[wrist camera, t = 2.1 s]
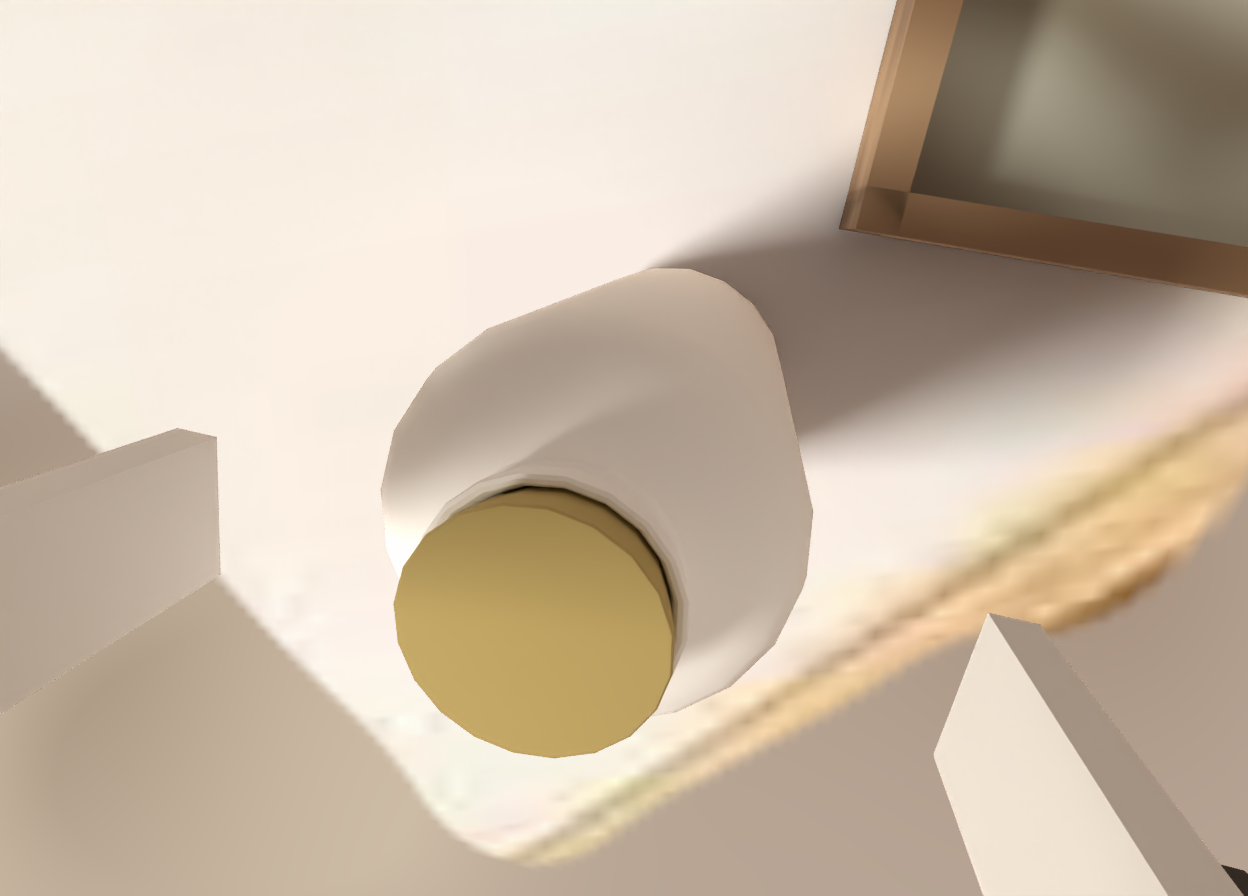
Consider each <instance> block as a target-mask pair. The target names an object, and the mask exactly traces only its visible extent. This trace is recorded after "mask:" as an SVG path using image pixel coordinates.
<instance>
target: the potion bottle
mask: <svg viewBox="0 0 1248 896" xmlns="http://www.w3.org/2000/svg"><path fill="white" fill-rule="evenodd" d="M381 497H382V506H383V516H384V525H385V535H386V544H387V551H388V553H389V555H390V558H391V560H392V563H393V565H394V567H395V570H396V572H397V574H398V577H399V579H400V580H399V584H398V588H397V592H396V596H395V600H394V611H395V620H396V630H397V639H398V644H399V646H400V648H401V650H402V653H403V655H404V657H405V660H406V662H407V664H408V666H409V669H410V671H411V673H412V676H413V678H414V680H415V681H416V682H417V683H418V685H419V686H420V687H421V688H422V690H423V691H424V692H425V693H426V695H427V696H428V697H429V698H430V699H431V701H432V702H433V703H434V704H435V706H436V707H437V708H438V709H439V710H440V712H442V713H443V714H444V715H446V716H447V717H449V718H450V719H451V720H453V721H454V722H455V723H457V724H458V725H459V726H461V727H462V728H463V729H465V730H466V731H468V732H469V733H470V734H472V735H473V736H474V737H477V738H479V739H482V740H484V741H487V742H489V743H491V744H494V745H496V746H499V747H501V748H504V749H506V750H508V751H511V752H514V753H521V754H528V755H535V756H542V757H549V758H560V757H567V756H575V755H583V754H590V753H596V752H598V751H600V750H602V749H604V748H606V747H609V746H611V745H613V744H615V743H617V742H619V741H621V740H624V739H626V738H628V737H630V736H631V735H632V734H633V733H634V732H635V731H636V730H637V729H638V728H639V727H640V726H641V725H642V724H643V723H644V722H645V721H646V720H647V719H648V718H649V717H650V716H655V715H662V714H668V713H674V712H677V711H679V710H682V709H684V708H686V707H688V706H690V705H692V704H694V703H697V702H699V701H701V700H703V699H705V698H707V697H709V696H711V695H714V694H716V693H718V692H720V691H722V690H724V689H726V688H729V687H731V686H732V685H733V684H734V683H735V682H736V681H737V680H738V679H739V678H740V677H741V676H742V675H743V674H744V673H745V672H746V671H748V670H749V669H750V668H751V667H752V666H753V665H754V664H755V663H756V662H757V661H758V660H759V659H760V658H761V657H762V656H763V655H764V654H765V653H766V652H767V651H769V650H770V649H771V648H772V647H773V646H774V645H775V643H776V641H777V639H778V637H779V635H780V633H781V631H782V629H783V627H784V625H785V623H786V621H787V619H788V617H789V615H790V613H791V611H792V609H793V607H794V605H795V603H796V601H797V599H798V597H799V595H800V593H801V591H802V588H803V585H804V582H805V579H806V575H807V566H808V556H809V547H810V537H811V528H812V518H813V508H812V504H811V499H810V495H809V490H808V486H807V481H806V477H805V472H804V468H803V463H802V459H801V454H800V450H799V445H798V440H797V436H796V431H795V427H794V422H793V418H792V413H791V409H790V404H789V400H788V395H787V391H786V386H785V382H784V377H783V373H782V368H781V364H780V360H779V356H778V352H777V348H776V344H775V340H774V336H773V334H772V332H771V331H770V329H769V328H768V326H767V325H766V323H765V322H764V320H763V319H762V317H761V315H760V314H759V312H758V311H757V309H756V308H755V306H754V305H753V304H752V303H751V302H750V301H748V300H747V299H746V298H745V297H743V296H742V295H741V294H740V293H738V292H737V291H736V290H735V289H733V288H732V287H731V286H730V285H728V284H727V283H726V282H725V281H722V280H719V279H716V278H714V277H711V276H708V275H705V274H703V273H700V272H697V271H694V270H692V269H675V268H652V269H648V270H645V271H642V272H639V273H636V274H632V275H629V276H626V277H623V278H620V279H617V280H614V281H612V282H609V283H606V284H604V285H601V286H599V287H596V288H593V289H591V290H588V291H585V292H583V293H580V294H578V295H575V296H572V297H570V298H567V299H565V300H562V301H559V302H557V303H554V304H551V305H549V306H546V307H544V308H541V309H538V310H536V311H533V312H530V313H528V314H525V315H523V316H520V317H517V318H515V319H512V320H509V321H507V322H504V323H502V324H499V325H496V326H494V327H491V328H488V329H487V330H485V331H484V332H483V333H481V334H480V335H479V336H477V337H476V338H475V339H473V340H472V341H471V342H469V343H468V344H467V345H466V346H464V347H463V348H462V349H460V350H459V351H458V352H456V353H455V354H454V355H452V356H451V357H450V358H448V359H447V360H446V361H444V362H443V363H442V364H440V365H439V366H438V367H436V368H435V370H434V371H433V372H432V373H431V375H430V376H429V377H428V378H427V380H426V381H425V383H424V384H423V386H422V388H421V389H420V391H419V392H418V394H417V395H416V397H415V399H414V400H413V402H412V403H411V405H410V406H409V408H408V410H407V411H406V413H405V414H404V416H403V417H402V419H401V421H400V422H399V424H398V425H397V427H396V428H395V430H394V433H393V437H392V442H391V446H390V451H389V455H388V460H387V464H386V469H385V473H384V478H383V482H382V487H381Z"/></svg>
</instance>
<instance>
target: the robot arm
mask: <svg viewBox="0 0 1248 896" xmlns="http://www.w3.org/2000/svg"><path fill="white" fill-rule="evenodd" d="M219 575H220V543H219V508H218V472H217V437H214V436H209V435H205V434H201V433H196V432H192V431H187V430H183V429H179V428H177V429H174V430H171V431H168V432H165V433H162V434H159V435H156V436H152V437H149V438H146V439H143V440H140V441H137V442H134V443H131V444H128V445H125V446H122V447H119V448H116V449H113V450H110V451H107V452H104V453H101V454H98V455H95V456H92V457H89V458H86V459H83V460H80V461H77V462H74V463H71V464H68V465H65V466H62V467H59V468H56V469H53V470H50V471H47V472H44V473H41V474H38V475H35V476H32V477H29V478H26V479H23V480H20V481H17V482H14V483H11V484H8V485H5V486H2V487H0V714H2V713H3V712H5V711H6V710H8V709H9V708H11V707H12V706H14V705H16V704H17V703H19V702H20V701H22V700H24V699H25V698H27V697H28V696H30V695H31V694H33V693H35V692H36V691H38V690H39V689H41V688H42V687H44V686H45V685H47V684H49V683H50V682H52V681H53V680H55V679H57V678H58V677H60V676H61V675H63V674H65V673H66V672H68V671H69V670H71V669H72V668H74V667H76V666H77V665H79V664H80V663H82V662H84V661H85V660H87V659H88V658H90V657H91V656H93V655H95V654H96V653H98V652H99V651H101V650H102V649H104V648H105V647H107V646H109V645H110V644H112V643H113V642H115V641H117V640H118V639H120V638H121V637H123V636H124V635H126V634H128V633H129V632H131V631H132V630H134V629H135V628H137V627H139V626H140V625H142V624H143V623H145V622H147V621H148V620H150V619H151V618H153V617H154V616H156V615H157V614H159V613H161V612H162V611H164V610H165V609H167V608H168V607H170V606H172V605H173V604H175V603H176V602H178V601H180V600H181V599H183V598H184V597H186V596H187V595H189V594H191V593H192V592H194V591H195V590H197V589H199V588H200V587H201V586H203V585H205V584H206V583H208V582H209V581H211V580H213V579H214V578H216V577H217V576H219ZM933 756H934V758H935V761H936V764H937V767H938V770H939V772H940V775H941V778H942V781H943V784H944V787H945V789H946V792H947V795H948V798H949V801H950V803H951V806H952V809H953V812H954V815H955V818H956V820H957V823H958V826H959V829H960V832H961V834H962V837H963V840H964V843H965V846H966V848H967V851H968V854H969V857H970V860H971V862H972V865H973V868H974V871H975V874H976V876H977V879H978V882H979V885H980V888H981V890H982V894H983V896H1248V874H1247V873H1246V872H1245V871H1243V870H1239V869H1236V868H1232V867H1228V866H1224V865H1220V863H1219V862H1218V861H1217V860H1216V858H1215V857H1214V855H1213V854H1212V853H1211V851H1210V850H1209V849H1208V847H1207V846H1206V845H1205V843H1204V842H1203V841H1202V839H1201V838H1200V837H1199V836H1198V834H1197V833H1196V831H1195V830H1194V829H1193V827H1192V826H1191V825H1190V823H1189V822H1188V821H1187V819H1186V818H1185V817H1184V816H1183V814H1182V813H1181V812H1180V810H1179V809H1178V807H1177V806H1176V805H1175V803H1174V802H1173V801H1172V799H1171V798H1170V797H1169V795H1167V793H1166V791H1165V790H1164V789H1163V787H1162V786H1161V785H1160V784H1159V782H1158V781H1157V780H1156V778H1155V777H1154V776H1153V774H1152V773H1151V772H1150V770H1149V769H1148V768H1147V766H1146V765H1145V764H1144V762H1143V761H1142V760H1141V758H1140V757H1139V756H1138V754H1137V753H1136V752H1135V750H1134V749H1133V748H1132V746H1131V745H1130V744H1129V742H1128V741H1127V740H1126V738H1125V737H1124V736H1123V734H1122V733H1121V732H1120V730H1119V729H1118V728H1117V727H1116V725H1115V724H1114V722H1113V721H1112V720H1111V718H1110V717H1109V716H1108V714H1107V713H1106V712H1105V711H1104V709H1103V708H1102V706H1101V705H1100V704H1099V702H1098V701H1097V700H1096V698H1095V697H1094V696H1093V694H1092V693H1091V692H1090V690H1089V689H1088V688H1087V686H1086V685H1085V684H1084V682H1083V681H1082V680H1081V679H1080V677H1079V676H1078V674H1077V673H1076V672H1075V670H1074V669H1073V668H1072V666H1071V665H1070V664H1069V662H1068V661H1067V660H1066V658H1065V657H1064V656H1063V655H1062V653H1061V652H1060V650H1059V649H1058V648H1057V646H1056V645H1055V644H1054V642H1053V641H1052V640H1051V638H1050V637H1049V636H1048V634H1047V633H1046V632H1045V631H1044V629H1043V628H1042V627H1041V625H1040V624H1035V623H1031V622H1026V621H1022V620H1018V619H1013V618H1009V617H1004V616H1000V615H996V614H991V613H988V614H987V617H986V620H985V622H984V625H983V627H982V630H981V633H980V635H979V638H978V640H977V643H976V646H975V648H974V651H973V653H972V656H971V659H970V661H969V664H968V666H967V669H966V672H965V674H964V677H963V679H962V682H961V685H960V687H959V690H958V692H957V695H956V698H955V700H954V703H953V705H952V708H951V711H950V713H949V716H948V718H947V721H946V724H945V726H944V729H943V731H942V734H941V737H940V739H939V742H938V744H937V747H936V750H935V752H934V755H933Z"/></svg>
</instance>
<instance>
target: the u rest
mask: <svg viewBox="0 0 1248 896" xmlns="http://www.w3.org/2000/svg"><path fill="white" fill-rule="evenodd" d="M839 229H844V230H849V231H855V232H861V233H867V234H873V235H879V236H885V237H891V238H897V239H903V240H909V241H914V242H920V243H926V244H932V245H938V246H944V247H950V248H956V249H962V250H968V251H974V252H980V253H985V254H991V255H997V256H1003V257H1009V258H1015V259H1021V260H1027V261H1033V262H1039V263H1045V264H1050V265H1056V266H1062V267H1068V268H1074V269H1080V270H1086V271H1092V272H1098V273H1104V274H1110V275H1116V276H1121V277H1127V278H1133V279H1139V280H1145V281H1151V282H1157V283H1163V284H1169V285H1175V286H1181V287H1186V288H1192V289H1198V290H1204V291H1210V292H1216V293H1222V294H1228V295H1234V296H1240V297H1246V298H1248V0H897V2H896V6H895V10H894V14H893V18H892V22H891V26H890V30H889V34H888V38H887V42H886V46H885V50H884V54H883V57H882V61H881V65H880V69H879V73H878V77H877V81H876V85H875V89H874V93H873V97H872V101H871V105H870V109H869V113H868V117H867V121H866V124H865V128H864V132H863V136H862V140H861V144H860V148H859V152H858V156H857V160H856V164H855V168H854V172H853V176H852V180H851V184H850V187H849V191H848V195H847V199H846V203H845V207H844V211H843V215H842V219H841V223H840V227H839Z"/></svg>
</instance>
